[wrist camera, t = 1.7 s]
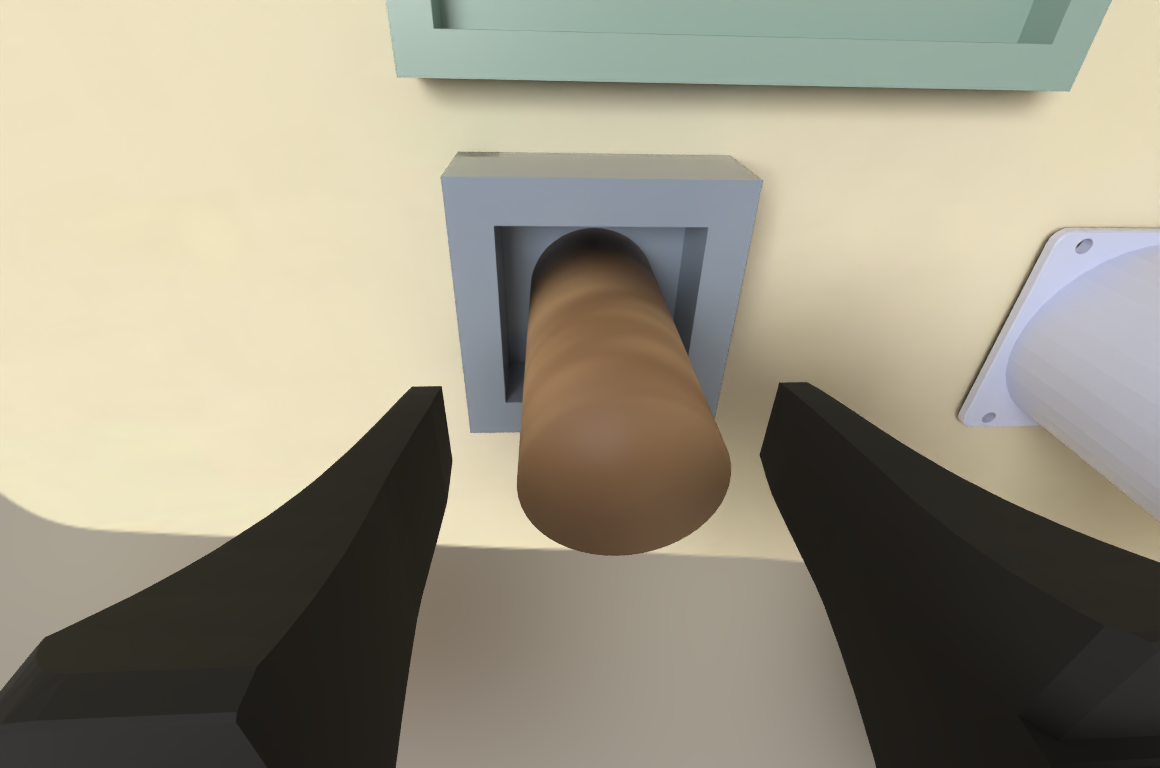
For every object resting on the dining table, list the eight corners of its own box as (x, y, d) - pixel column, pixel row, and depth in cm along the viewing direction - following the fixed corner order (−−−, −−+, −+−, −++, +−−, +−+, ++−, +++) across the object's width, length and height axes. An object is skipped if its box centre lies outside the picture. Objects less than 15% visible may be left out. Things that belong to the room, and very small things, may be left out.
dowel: (659, 228, 17) (750, 397, 9) (647, 342, 19) (712, 553, 11) (528, 227, 16) (512, 399, 9) (532, 342, 19) (521, 557, 11)
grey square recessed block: (729, 155, 16) (763, 180, 14) (692, 380, 21) (712, 429, 18) (457, 152, 16) (440, 176, 13) (480, 381, 20) (470, 432, 18)
